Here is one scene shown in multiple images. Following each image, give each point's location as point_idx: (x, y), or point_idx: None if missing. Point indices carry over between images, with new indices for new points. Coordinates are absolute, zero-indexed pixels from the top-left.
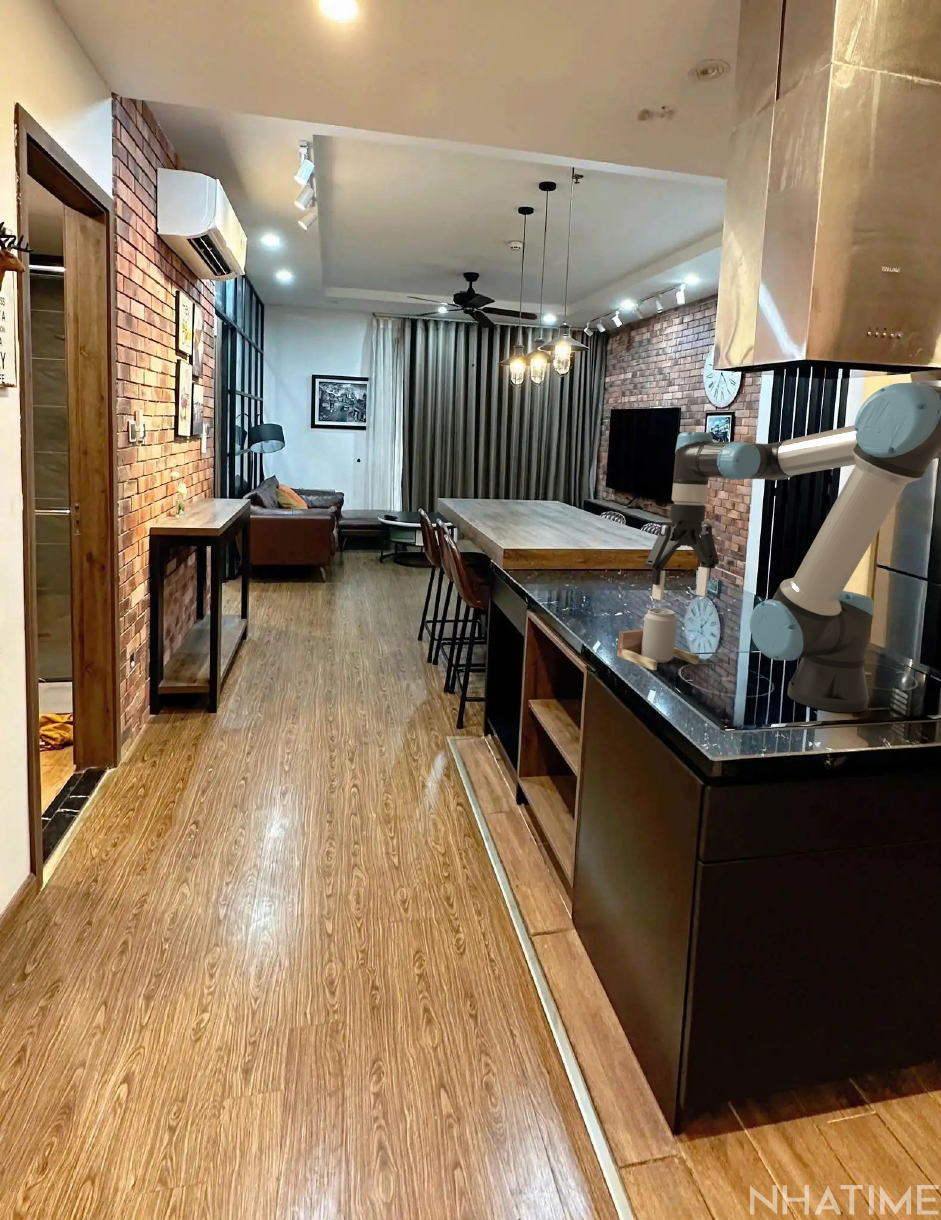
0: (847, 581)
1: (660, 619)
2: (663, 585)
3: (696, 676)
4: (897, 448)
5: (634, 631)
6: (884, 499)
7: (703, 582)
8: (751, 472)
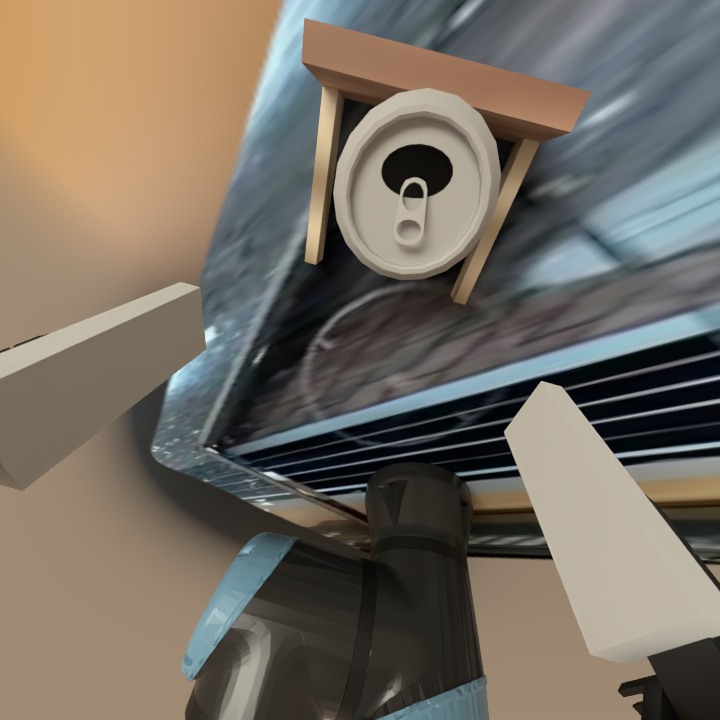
0: None
1: (348, 241)
2: (135, 397)
3: (361, 341)
4: None
5: (373, 71)
6: None
7: (544, 492)
8: None
